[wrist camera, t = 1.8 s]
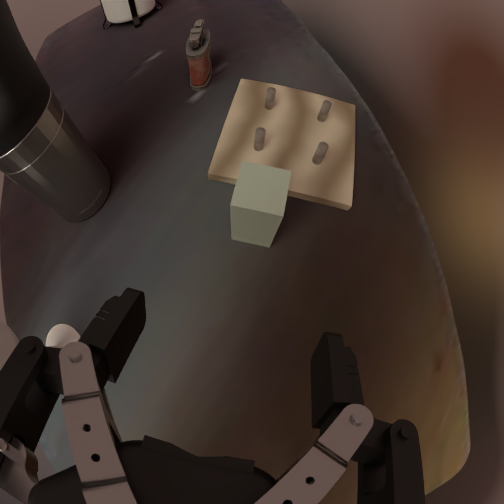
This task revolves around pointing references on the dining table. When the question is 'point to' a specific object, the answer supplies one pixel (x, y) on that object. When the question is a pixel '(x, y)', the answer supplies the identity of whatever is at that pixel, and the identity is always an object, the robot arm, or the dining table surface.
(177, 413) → the dining table surface
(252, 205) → the sage block
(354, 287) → the dining table surface
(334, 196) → the peg board
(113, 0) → the coffee press
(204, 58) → the lighter
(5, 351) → the champagne flute
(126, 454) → the robot arm
